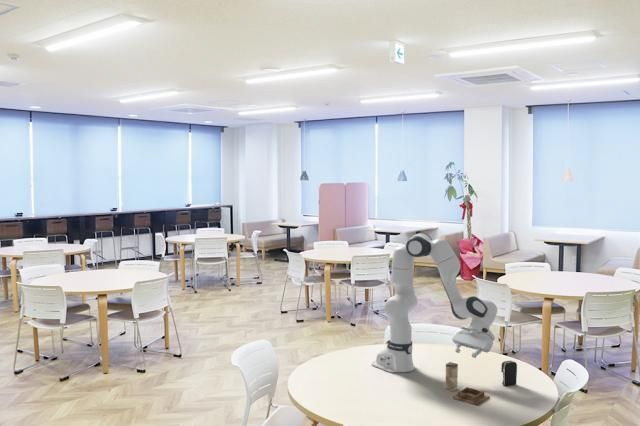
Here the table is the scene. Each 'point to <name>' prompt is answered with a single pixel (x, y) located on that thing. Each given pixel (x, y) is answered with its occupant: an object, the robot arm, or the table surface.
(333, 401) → the table surface
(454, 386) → the tall wooden pillar
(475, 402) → the dock
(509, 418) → the table surface
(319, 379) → the table surface
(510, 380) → the battery charger
